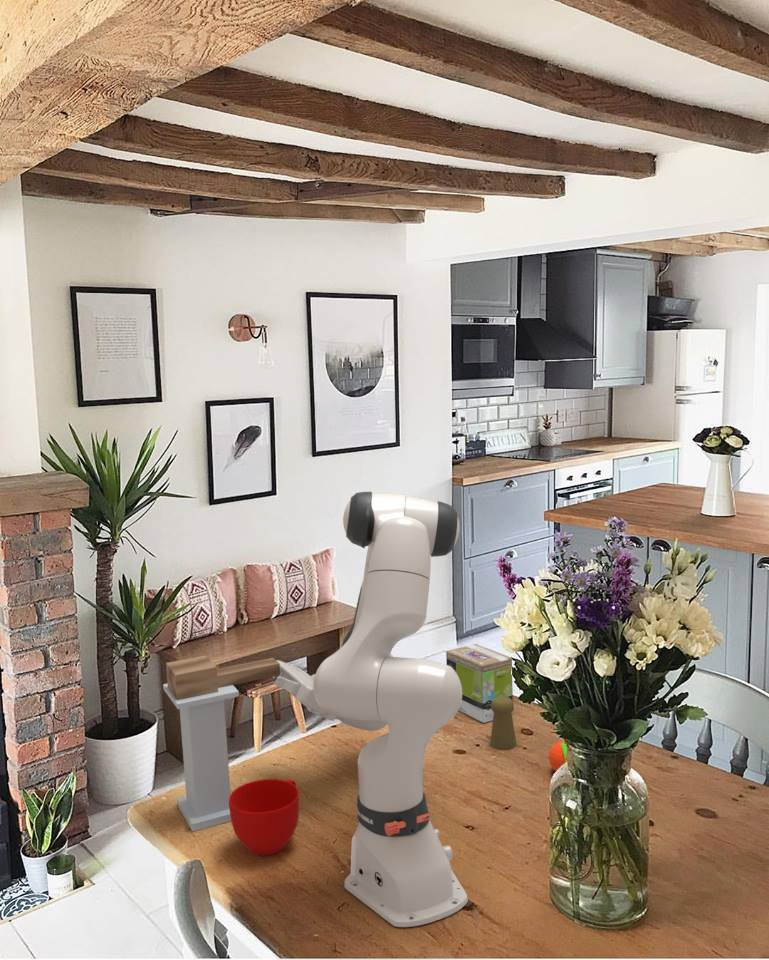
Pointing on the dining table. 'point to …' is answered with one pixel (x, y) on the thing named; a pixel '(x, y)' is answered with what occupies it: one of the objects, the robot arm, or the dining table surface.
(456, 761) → the dining table surface
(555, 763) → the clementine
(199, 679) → the handled block
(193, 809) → the painted stand
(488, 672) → the tea box
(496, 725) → the brown pawn
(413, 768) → the robot arm
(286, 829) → the ceramic cup
